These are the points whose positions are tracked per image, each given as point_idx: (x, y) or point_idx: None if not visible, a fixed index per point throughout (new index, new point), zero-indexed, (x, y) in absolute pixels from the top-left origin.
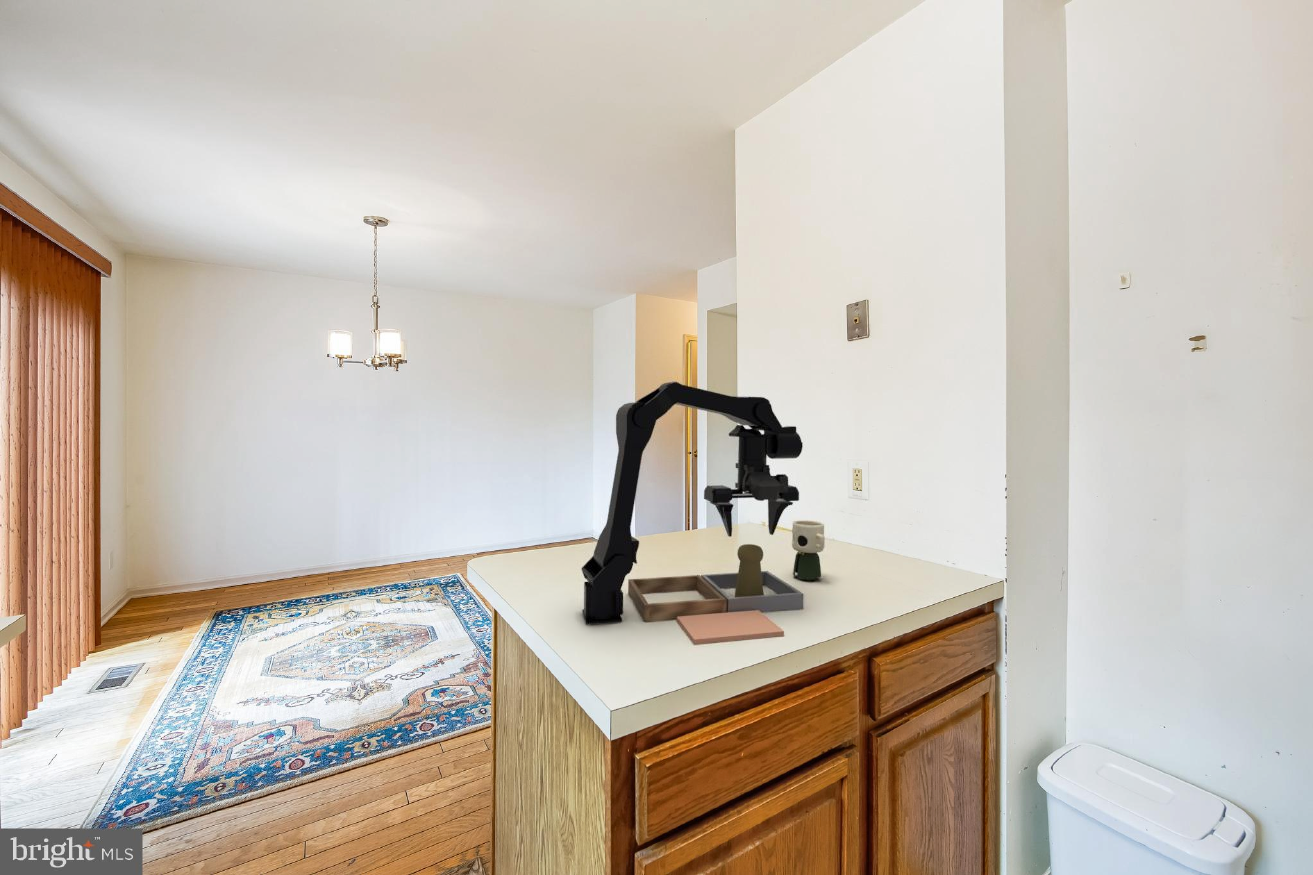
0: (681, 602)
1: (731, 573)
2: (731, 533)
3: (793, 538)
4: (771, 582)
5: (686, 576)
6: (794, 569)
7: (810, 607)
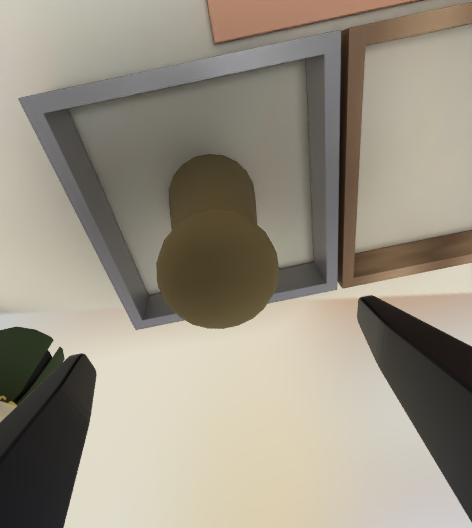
0: None
1: None
2: (371, 306)
3: None
4: (132, 278)
5: (383, 275)
6: (54, 364)
7: (20, 113)
